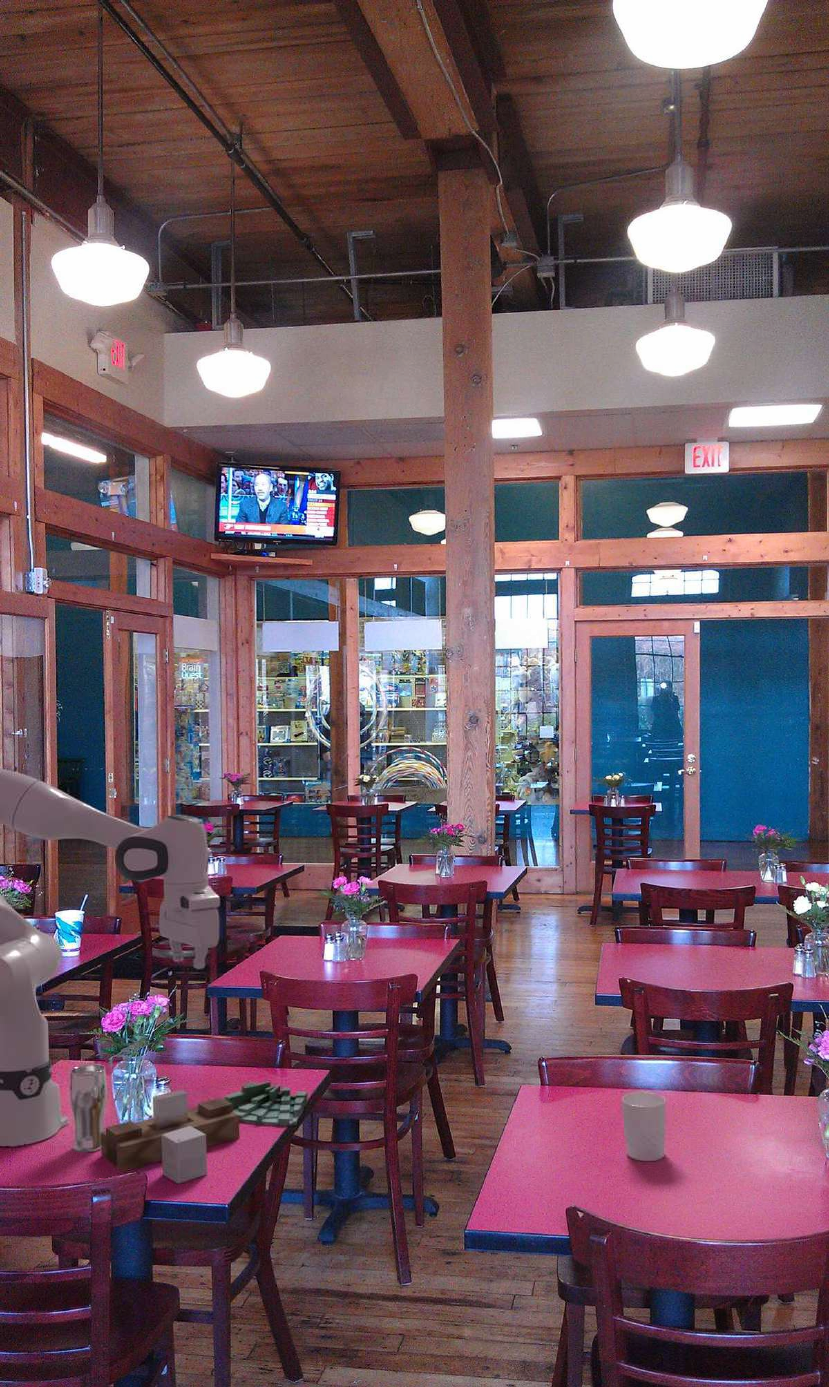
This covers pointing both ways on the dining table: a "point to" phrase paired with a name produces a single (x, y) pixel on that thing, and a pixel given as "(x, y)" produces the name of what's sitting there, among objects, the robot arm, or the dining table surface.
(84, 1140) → the beer glass
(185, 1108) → the bracket
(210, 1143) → the wooden display stand
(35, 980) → the robot arm
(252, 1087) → the money
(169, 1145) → the product box
